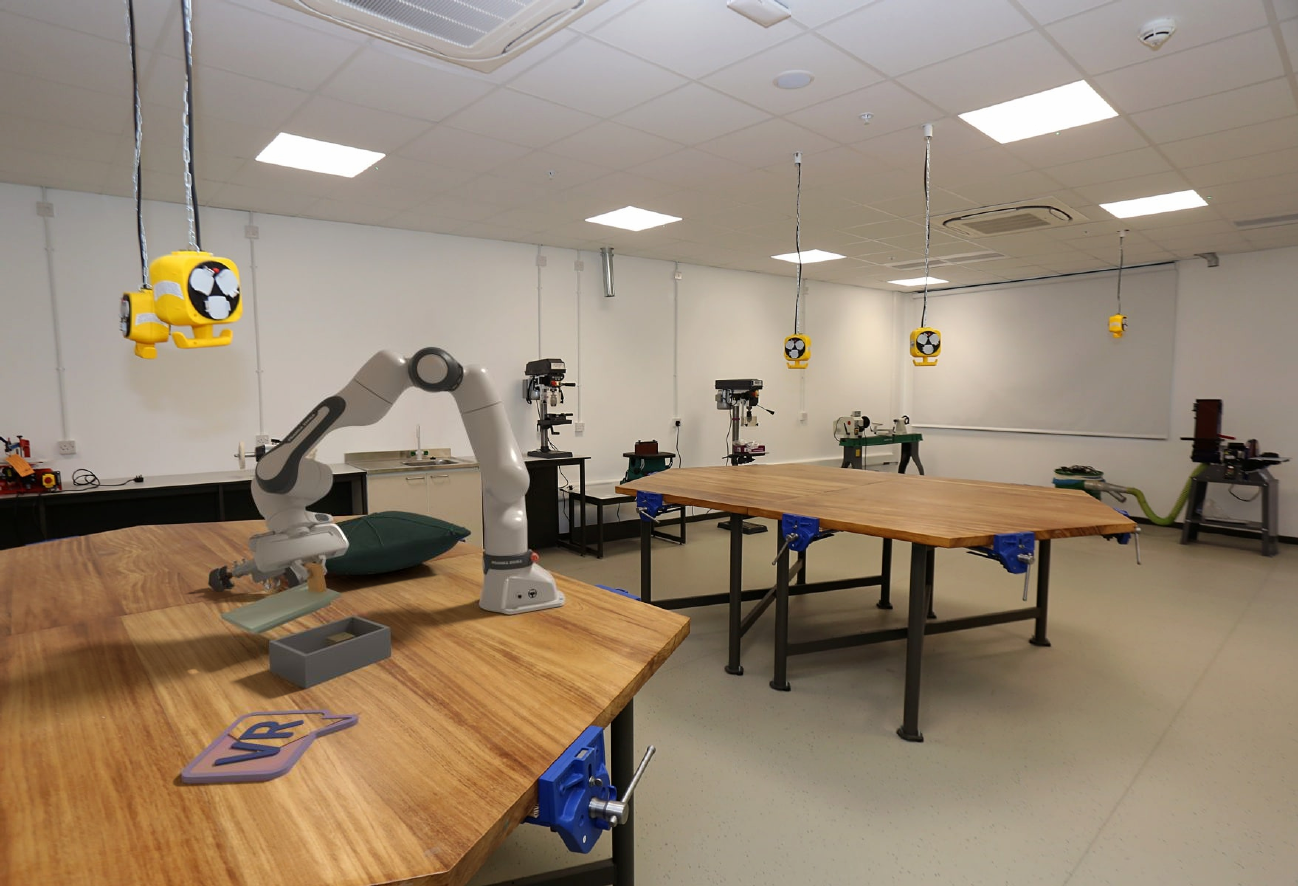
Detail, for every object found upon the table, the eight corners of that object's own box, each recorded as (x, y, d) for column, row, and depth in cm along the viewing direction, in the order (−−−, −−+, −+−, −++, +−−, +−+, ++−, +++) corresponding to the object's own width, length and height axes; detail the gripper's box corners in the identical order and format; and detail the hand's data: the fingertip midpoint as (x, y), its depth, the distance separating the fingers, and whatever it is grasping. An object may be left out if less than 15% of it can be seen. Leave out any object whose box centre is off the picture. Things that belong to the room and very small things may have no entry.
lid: (309, 591, 155) (303, 558, 153) (342, 603, 147) (336, 567, 145) (223, 625, 140) (215, 588, 138) (253, 640, 132) (245, 601, 130)
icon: (319, 771, 95) (173, 777, 93) (319, 781, 95) (174, 787, 93) (364, 708, 114) (244, 712, 112) (365, 716, 114) (245, 720, 112)
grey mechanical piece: (300, 596, 174) (278, 541, 174) (220, 628, 181) (200, 575, 181) (315, 590, 180) (293, 537, 180) (237, 621, 186) (217, 569, 186)
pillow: (316, 523, 173) (279, 524, 206) (324, 592, 173) (285, 581, 206) (469, 500, 202) (415, 504, 235) (476, 559, 202) (421, 555, 235)
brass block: (345, 650, 139) (344, 631, 139) (356, 654, 137) (355, 635, 136) (327, 656, 136) (326, 637, 135) (337, 660, 133) (337, 642, 133)
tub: (355, 646, 143) (354, 615, 143) (391, 660, 136) (390, 627, 135) (270, 676, 128) (268, 641, 128) (306, 693, 121) (304, 656, 120)
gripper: (249, 527, 143) (273, 579, 138) (337, 513, 160) (362, 558, 155) (240, 545, 146) (264, 595, 141) (327, 529, 163) (351, 573, 158)
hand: (316, 576), depth 148 cm, fingers closed on lid
